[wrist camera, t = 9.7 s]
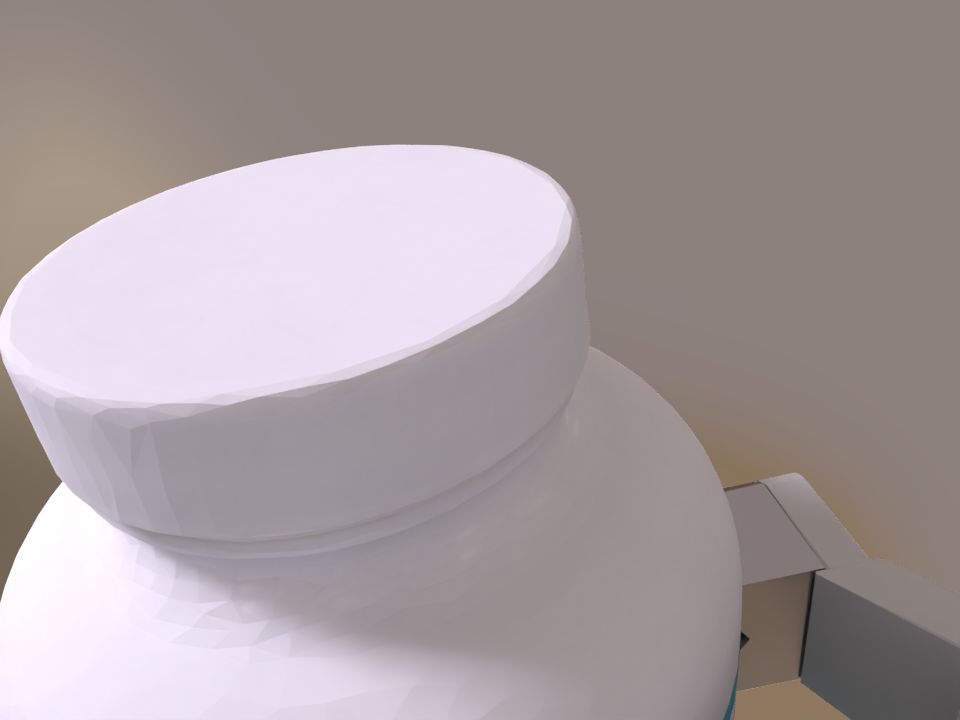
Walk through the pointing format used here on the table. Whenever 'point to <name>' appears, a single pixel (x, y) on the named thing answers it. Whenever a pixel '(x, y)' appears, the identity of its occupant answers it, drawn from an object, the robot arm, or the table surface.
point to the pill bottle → (354, 464)
